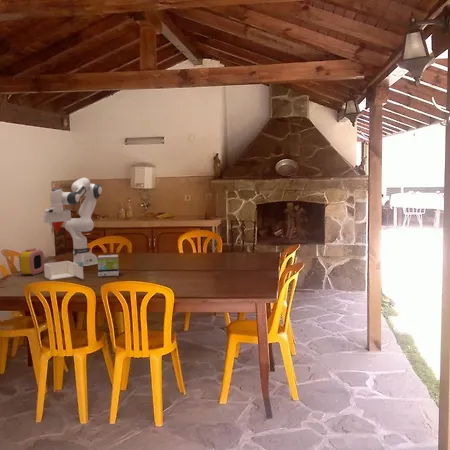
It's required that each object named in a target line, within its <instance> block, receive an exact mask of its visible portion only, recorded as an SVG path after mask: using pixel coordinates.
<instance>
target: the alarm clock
mask: <svg viewBox="0 0 450 450" xmlns="http://www.w3.org/2000/svg"><path fill="white" fill-rule="evenodd" d="M18 264H19V265H18V266H19V271H20V273H21V274H22V275H24V276H25V275H34V276H35V275H38V274H40V273H42V272H43V271H44V264H45V253H44V252H43V250H42V249H37V248H36V247H30V248H28V249H27V248H26V250H24V251H21V252H20V254H19V256H18Z"/></svg>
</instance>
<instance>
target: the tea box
mask: <svg viewBox="0 0 450 450" xmlns="http://www.w3.org/2000/svg"><path fill="white" fill-rule="evenodd" d="M97 260H98V264H97V276H98V277H113V276H114V277H116V276H117V277H118V276H119V273H120V272H119V271H120V269H119V268H120V267H119V263H120V261H119V254H102V255H101V254H99V255H98V256H97Z"/></svg>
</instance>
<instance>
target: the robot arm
mask: <svg viewBox="0 0 450 450" xmlns="http://www.w3.org/2000/svg"><path fill="white" fill-rule="evenodd" d="M70 188H71V191H63V190H62V189H61V188H59V187H57V188H51V190H50V194H49V195H50V198H49V199H50V207H49V208H45V210H44V214H43V222H44V223H45V224H46V223H48V225H49V226H50V229H54V225H52V223H58V222H59V223H60V222H63V225H62V227H63V228H64V229H65V230H66V231H67V232H68V233H69V234H70V236H71V238H72V245H73V248H72V254H73V263H75V264H77V265H78V262H80V261H81V262H83V266H82V267H89V266H94V265H98V256H97V255H96V254H94V252H93V253H92V247H89V246H88V239H87V236H85V235H83V233H82V232H91V231H92V230H93V229H94V227H95V223H94V221H93V220H92V215H93V213H94V210H95V209H96V206H97V205H96V204H97V199H98V198H100V197H101V195H102V193H103V188H102V185H100V184H98V183H91V181H90V179H89V178H87V177H81V178H78V179H77V180H75V181H74V182H73V183H72V184H71V187H70ZM83 197H85V198H84V199H83V201H82V203H81V205H80V206H79V209H78V211H77V212H78V215H79V217H78V218H77V217H75V218H74V217H73V218H72V215H71V214H72V212H71V209H69V208H67V209H66V208H64V206H65V205H72V206H75V205H78V203H79V202H80V199H82V198H83Z"/></svg>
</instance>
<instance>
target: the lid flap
mask: <svg viewBox="0 0 450 450" xmlns="http://www.w3.org/2000/svg"><path fill="white" fill-rule="evenodd" d="M73 264H74V277H77V278H79V279H81V280H84V266H83V262H81V261H80V262H78V265H77V264H75V263H73Z"/></svg>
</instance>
